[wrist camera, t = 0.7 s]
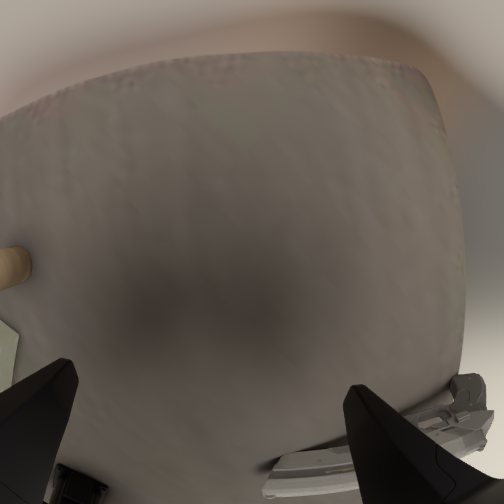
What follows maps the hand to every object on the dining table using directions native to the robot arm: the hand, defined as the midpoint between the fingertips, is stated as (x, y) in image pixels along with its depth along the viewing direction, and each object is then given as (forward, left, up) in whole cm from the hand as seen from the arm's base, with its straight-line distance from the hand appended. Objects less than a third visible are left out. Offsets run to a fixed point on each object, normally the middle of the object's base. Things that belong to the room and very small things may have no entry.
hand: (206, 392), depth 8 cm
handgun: (-6, -27, -14) cm, 32 cm away
